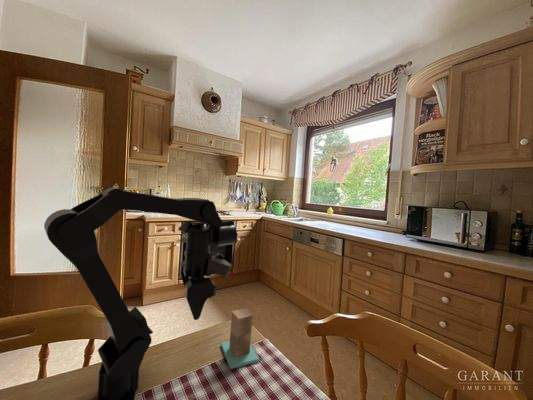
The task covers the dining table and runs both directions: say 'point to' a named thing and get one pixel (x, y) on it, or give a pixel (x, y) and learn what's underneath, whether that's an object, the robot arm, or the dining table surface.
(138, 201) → the robot arm
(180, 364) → the dining table surface
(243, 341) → the walnut block
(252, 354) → the mat
